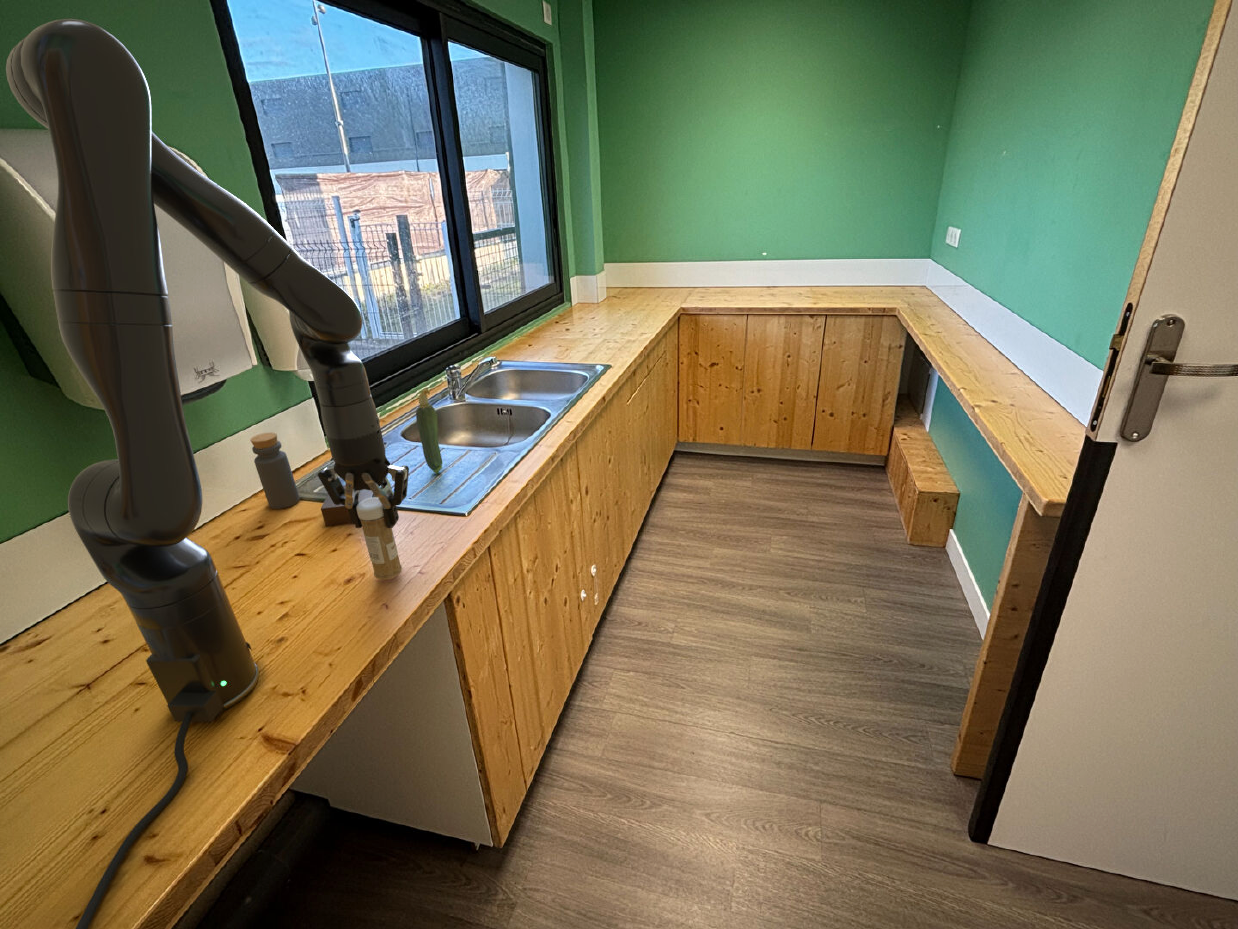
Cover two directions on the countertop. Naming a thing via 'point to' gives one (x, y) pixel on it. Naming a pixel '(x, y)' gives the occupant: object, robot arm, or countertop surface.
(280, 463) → the bottle
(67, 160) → the robot arm
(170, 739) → the countertop surface
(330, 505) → the block
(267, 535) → the countertop surface
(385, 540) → the sprinkles bottle
